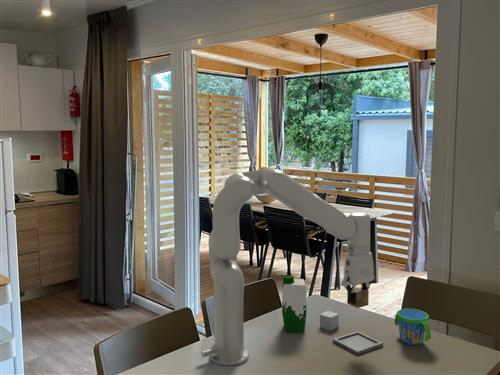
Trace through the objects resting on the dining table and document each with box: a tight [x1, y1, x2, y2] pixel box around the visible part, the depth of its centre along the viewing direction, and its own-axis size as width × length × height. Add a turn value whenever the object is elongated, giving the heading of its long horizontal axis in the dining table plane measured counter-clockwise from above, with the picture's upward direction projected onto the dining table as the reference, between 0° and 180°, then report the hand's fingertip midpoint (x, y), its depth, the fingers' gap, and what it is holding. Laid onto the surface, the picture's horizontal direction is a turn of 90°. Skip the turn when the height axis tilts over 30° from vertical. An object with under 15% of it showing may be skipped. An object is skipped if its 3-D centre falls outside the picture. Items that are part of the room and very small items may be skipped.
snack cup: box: [393, 308, 432, 346], centre depth 168 cm, size 16×10×10 cm
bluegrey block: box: [319, 310, 340, 331], centre depth 183 cm, size 5×5×5 cm
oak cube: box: [346, 286, 370, 309], centre depth 166 cm, size 5×5×5 cm
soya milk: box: [281, 274, 307, 333], centre depth 180 cm, size 9×9×20 cm
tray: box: [332, 330, 384, 356], centre depth 167 cm, size 12×12×1 cm
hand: (358, 300), depth 166 cm, fingers closed on oak cube, 5 cm apart
